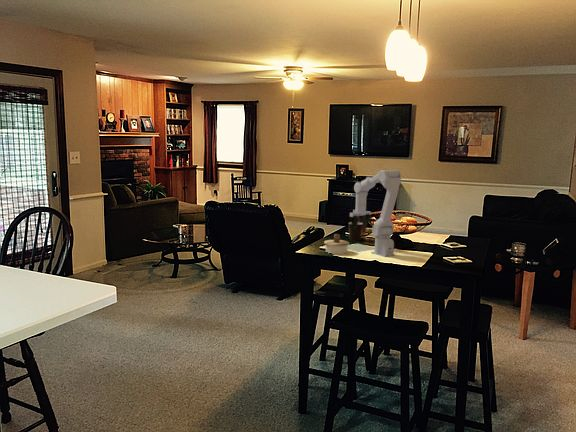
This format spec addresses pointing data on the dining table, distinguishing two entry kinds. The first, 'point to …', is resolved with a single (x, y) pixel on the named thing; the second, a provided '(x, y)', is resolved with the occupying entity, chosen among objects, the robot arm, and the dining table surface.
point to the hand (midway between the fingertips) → (359, 228)
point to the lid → (336, 241)
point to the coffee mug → (355, 231)
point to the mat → (359, 247)
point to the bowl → (336, 249)
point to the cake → (360, 222)
